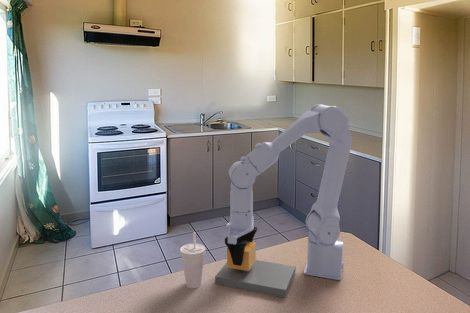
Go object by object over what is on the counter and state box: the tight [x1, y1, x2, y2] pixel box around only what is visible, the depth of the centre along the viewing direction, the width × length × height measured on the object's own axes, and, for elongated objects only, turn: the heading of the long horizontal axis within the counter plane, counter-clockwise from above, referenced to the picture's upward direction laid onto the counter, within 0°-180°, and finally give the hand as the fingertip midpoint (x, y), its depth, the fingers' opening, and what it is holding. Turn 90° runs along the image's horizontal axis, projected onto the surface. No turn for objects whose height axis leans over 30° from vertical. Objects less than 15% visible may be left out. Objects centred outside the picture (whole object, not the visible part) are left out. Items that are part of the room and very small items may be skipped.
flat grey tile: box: [214, 259, 297, 298], centre depth 95 cm, size 18×12×5 cm, turn 70°
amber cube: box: [226, 241, 257, 271], centre depth 96 cm, size 6×6×5 cm
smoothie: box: [179, 231, 207, 289], centre depth 92 cm, size 6×6×14 cm
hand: (241, 259), depth 96 cm, fingers closed on amber cube, 6 cm apart
